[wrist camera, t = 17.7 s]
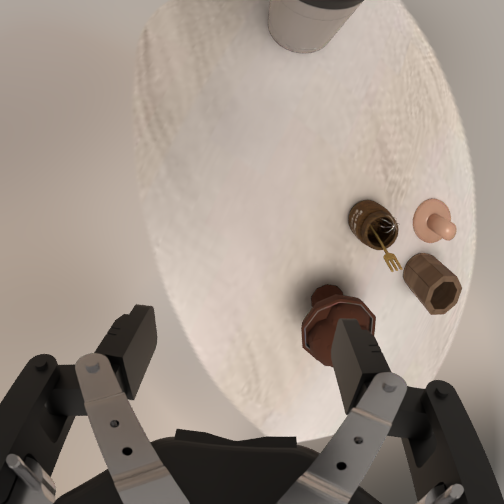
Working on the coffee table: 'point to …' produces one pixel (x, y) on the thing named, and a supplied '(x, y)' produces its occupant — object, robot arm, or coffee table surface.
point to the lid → (433, 221)
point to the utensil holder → (375, 228)
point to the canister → (432, 283)
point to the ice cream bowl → (331, 320)
